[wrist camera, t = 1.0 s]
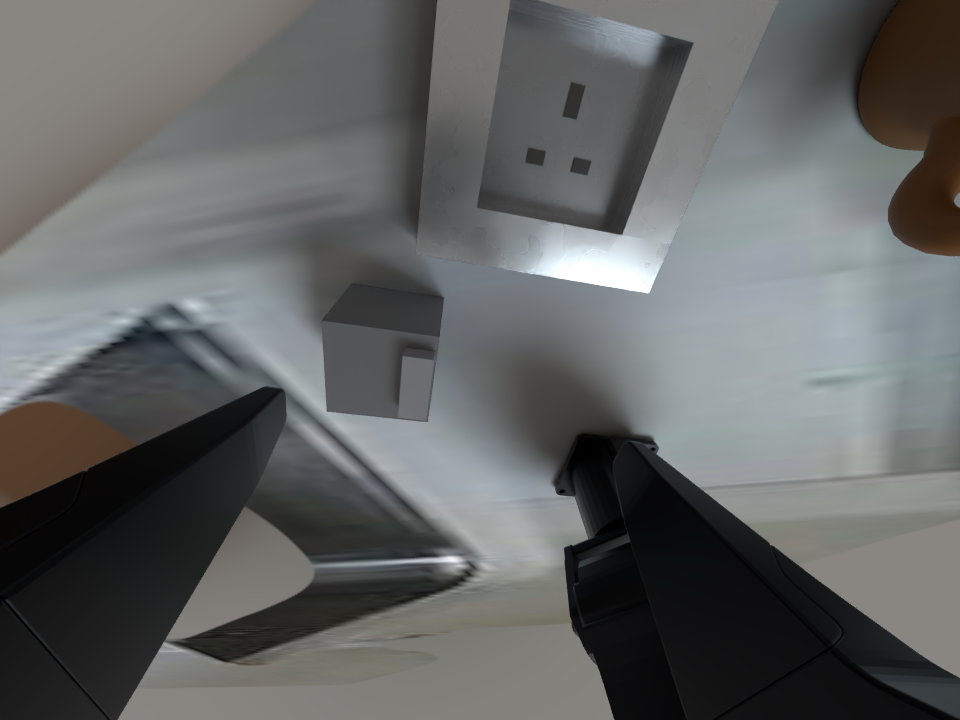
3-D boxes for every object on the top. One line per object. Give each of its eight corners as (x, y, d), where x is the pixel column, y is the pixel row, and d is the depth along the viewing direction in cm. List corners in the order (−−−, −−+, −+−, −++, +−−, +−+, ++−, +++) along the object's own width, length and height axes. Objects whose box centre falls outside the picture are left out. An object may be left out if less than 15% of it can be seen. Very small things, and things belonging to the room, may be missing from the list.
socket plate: (629, 278, 20) (654, 297, 18) (420, 242, 19) (414, 257, 16) (745, -7, 14) (809, -42, 12) (451, -96, 13) (448, -158, 10)
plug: (434, 371, 23) (426, 432, 18) (352, 361, 22) (321, 421, 17) (444, 297, 20) (438, 345, 15) (352, 283, 20) (315, 328, 15)
